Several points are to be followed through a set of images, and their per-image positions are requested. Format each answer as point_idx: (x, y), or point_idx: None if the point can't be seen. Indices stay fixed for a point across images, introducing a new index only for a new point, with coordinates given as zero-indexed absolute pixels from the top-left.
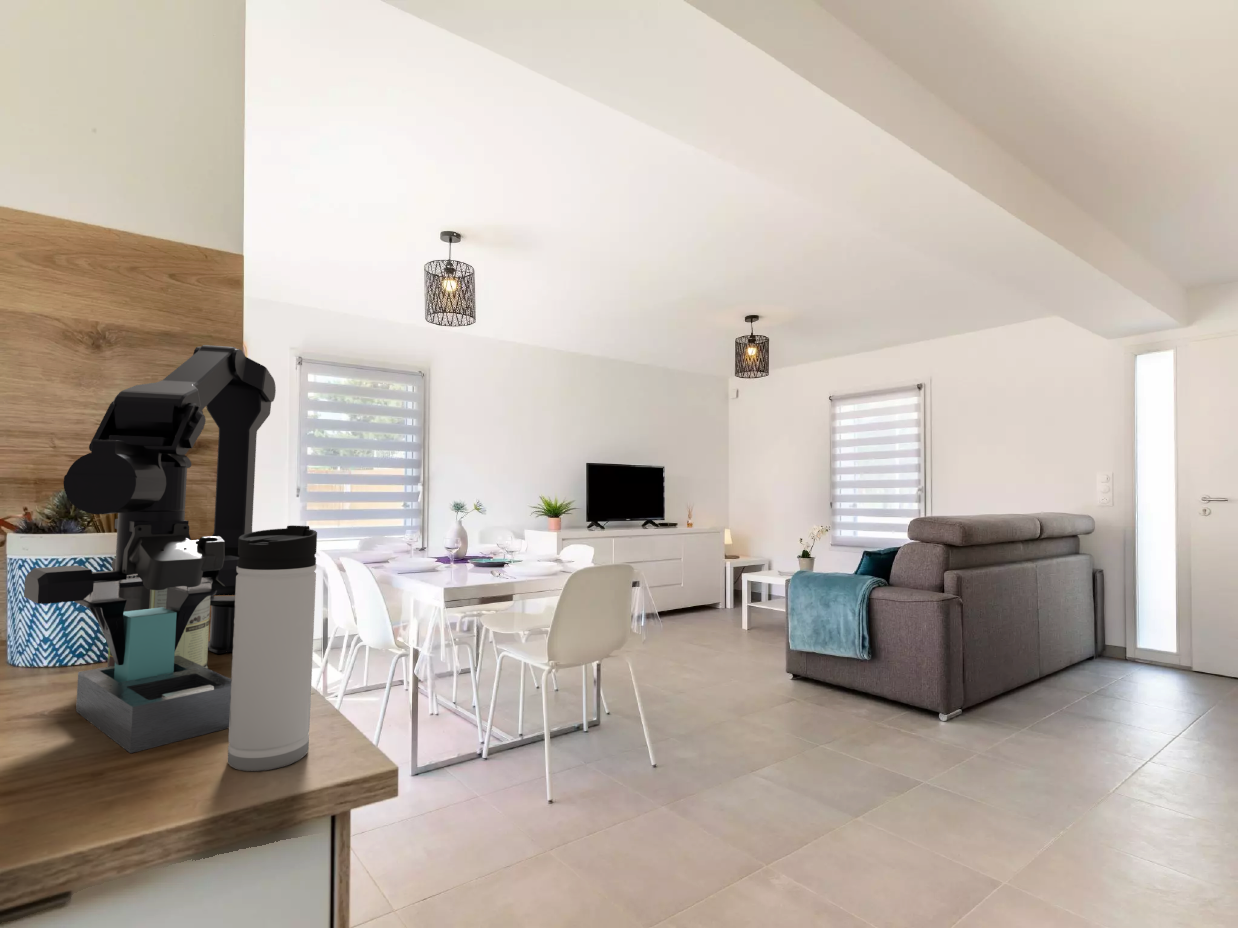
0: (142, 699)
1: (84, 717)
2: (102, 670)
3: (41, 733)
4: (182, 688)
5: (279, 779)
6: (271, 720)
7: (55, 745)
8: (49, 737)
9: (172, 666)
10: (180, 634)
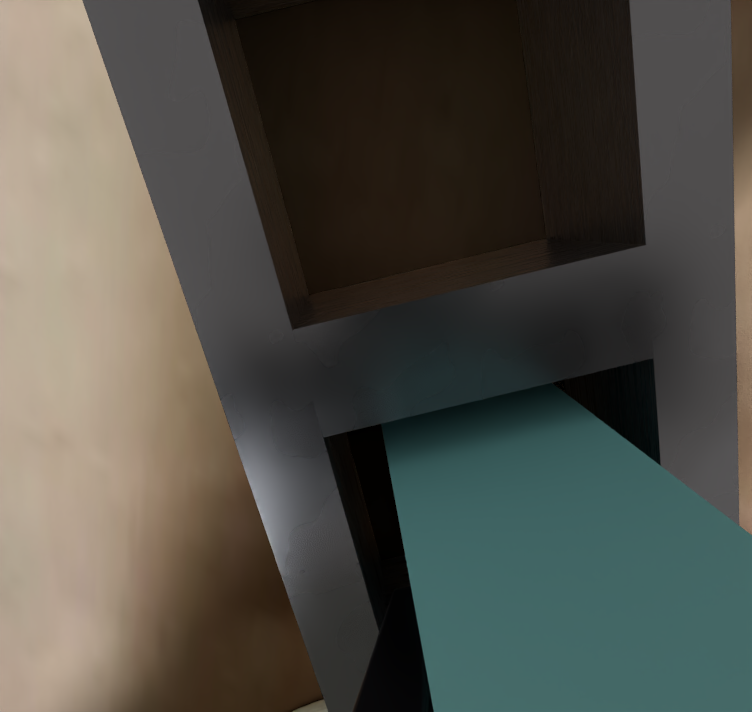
0: None
1: None
2: None
3: (749, 351)
4: (358, 300)
5: None
6: None
7: (745, 185)
8: (740, 291)
9: (399, 481)
10: (367, 706)
